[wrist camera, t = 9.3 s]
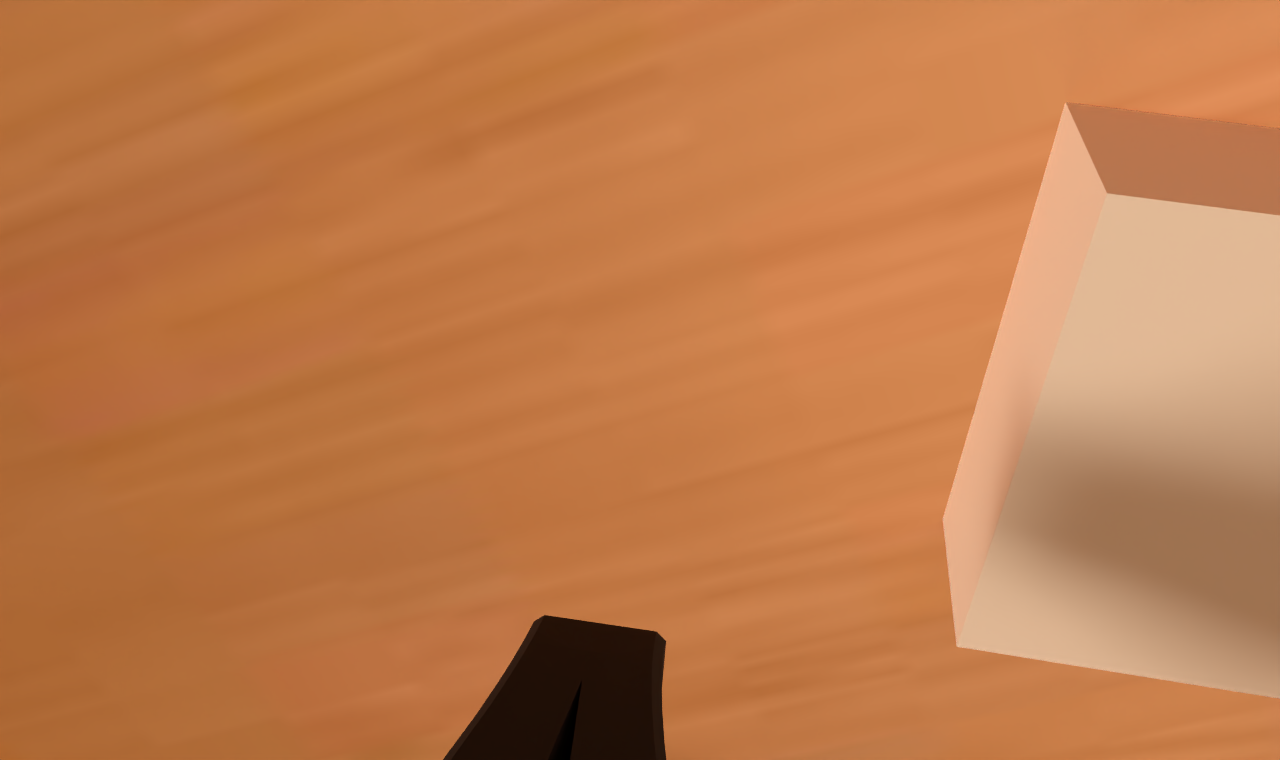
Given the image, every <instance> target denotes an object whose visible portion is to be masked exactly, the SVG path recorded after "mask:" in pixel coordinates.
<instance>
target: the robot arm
mask: <svg viewBox="0 0 1280 760" xmlns="http://www.w3.org/2000/svg"><path fill="white" fill-rule="evenodd" d="M665 647H666V641H665V640H664V639H663V638H662V637H661V636H660V635H659V634H658V633H657V632H655V631H649V630H642V629H635V628H628V627H621V626H615V625H608V624H601V623H594V622H587V621H581V620H574V619H567V618H560V617H553V616H547V615H544V616H542V617H541V618H539V619H537V620H536V621H534V623H533V625H532V626H531V628H530V630H529V632H528V634H527V636H526V638H525V639H524V641H523V643H522V645H521V646H520V648H519V650H518V651H517V653H516V655H515V656H514V658H513V660H512V661H511V663H510V665H509V666H508V668H507V669H506V671H505V673H504V674H503V676H502V677H501V679H500V680H499V682H498V683H497V685H496V686H495V688H494V689H493V691H492V692H491V694H490V695H489V697H488V698H487V700H486V701H485V703H484V704H483V706H482V707H481V708H480V710H479V711H478V713H477V714H476V716H475V717H474V719H473V720H472V721H471V723H470V724H469V725H468V727H467V728H466V729H465V731H464V732H463V733H462V735H461V736H460V737H459V739H458V740H457V741H456V743H455V744H454V746H453V747H452V748H451V750H450V751H449V752H448V754H447V755H446V756H445V758H444V759H443V760H666V754H665V744H664V730H663V716H662V680H663V669H664V658H665Z"/></svg>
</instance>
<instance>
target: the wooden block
mask: <svg viewBox="0 0 1280 760" xmlns="http://www.w3.org/2000/svg"><path fill="white" fill-rule="evenodd" d="M943 525H944V534H945V544H946V553H947V562H948V571H949V580H950V590H951V599H952V608H953V617H954V626H955V635H956V645H957V647H963V648H969V649H975V650H981V651H988V652H994V653H1000V654H1006V655H1012V656H1019V657H1025V658H1031V659H1037V660H1043V661H1050V662H1056V663H1062V664H1068V665H1075V666H1081V667H1087V668H1093V669H1099V670H1106V671H1112V672H1118V673H1124V674H1130V675H1137V676H1143V677H1149V678H1155V679H1162V680H1168V681H1174V682H1180V683H1186V684H1193V685H1199V686H1205V687H1211V688H1217V689H1224V690H1230V691H1236V692H1242V693H1249V694H1255V695H1261V696H1267V697H1273V698H1280V129H1279V128H1271V127H1263V126H1255V125H1247V124H1239V123H1231V122H1222V121H1214V120H1206V119H1198V118H1190V117H1182V116H1174V115H1166V114H1157V113H1149V112H1141V111H1133V110H1125V109H1117V108H1109V107H1101V106H1093V105H1084V104H1076V103H1068V102H1065V106H1064V109H1063V113H1062V116H1061V119H1060V123H1059V126H1058V130H1057V133H1056V136H1055V140H1054V143H1053V147H1052V150H1051V153H1050V157H1049V160H1048V164H1047V167H1046V170H1045V174H1044V177H1043V181H1042V184H1041V187H1040V191H1039V194H1038V198H1037V201H1036V204H1035V208H1034V211H1033V215H1032V218H1031V221H1030V225H1029V228H1028V231H1027V235H1026V238H1025V242H1024V245H1023V248H1022V252H1021V255H1020V259H1019V262H1018V265H1017V269H1016V272H1015V276H1014V279H1013V282H1012V286H1011V289H1010V293H1009V296H1008V299H1007V303H1006V306H1005V310H1004V313H1003V316H1002V320H1001V323H1000V327H999V330H998V333H997V337H996V340H995V344H994V347H993V350H992V354H991V357H990V360H989V364H988V367H987V371H986V374H985V377H984V381H983V384H982V388H981V391H980V394H979V398H978V401H977V405H976V408H975V411H974V415H973V418H972V422H971V425H970V428H969V432H968V435H967V439H966V442H965V445H964V449H963V452H962V456H961V459H960V462H959V466H958V469H957V473H956V476H955V479H954V483H953V486H952V490H951V493H950V496H949V500H948V503H947V506H946V510H945V513H944V517H943Z"/></svg>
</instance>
